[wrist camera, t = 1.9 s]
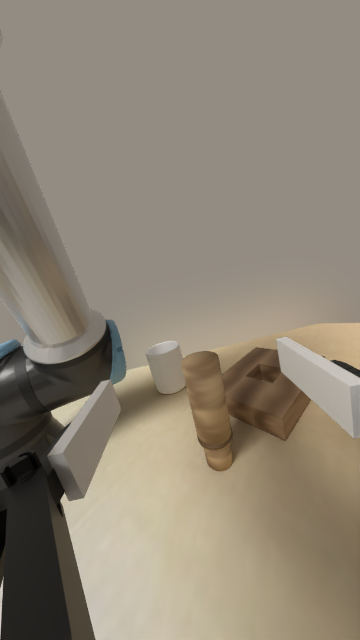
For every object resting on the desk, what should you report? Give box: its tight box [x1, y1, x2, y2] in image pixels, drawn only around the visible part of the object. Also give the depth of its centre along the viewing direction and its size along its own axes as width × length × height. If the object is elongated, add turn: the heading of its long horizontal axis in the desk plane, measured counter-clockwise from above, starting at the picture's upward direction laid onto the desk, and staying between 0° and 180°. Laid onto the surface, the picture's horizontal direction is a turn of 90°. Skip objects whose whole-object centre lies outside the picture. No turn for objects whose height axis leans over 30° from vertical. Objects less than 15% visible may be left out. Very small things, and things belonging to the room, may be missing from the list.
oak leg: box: [181, 351, 233, 471], centre depth 27 cm, size 5×5×16 cm
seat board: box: [222, 347, 325, 441], centre depth 40 cm, size 15×20×4 cm
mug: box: [146, 341, 186, 394], centre depth 52 cm, size 9×12×11 cm
